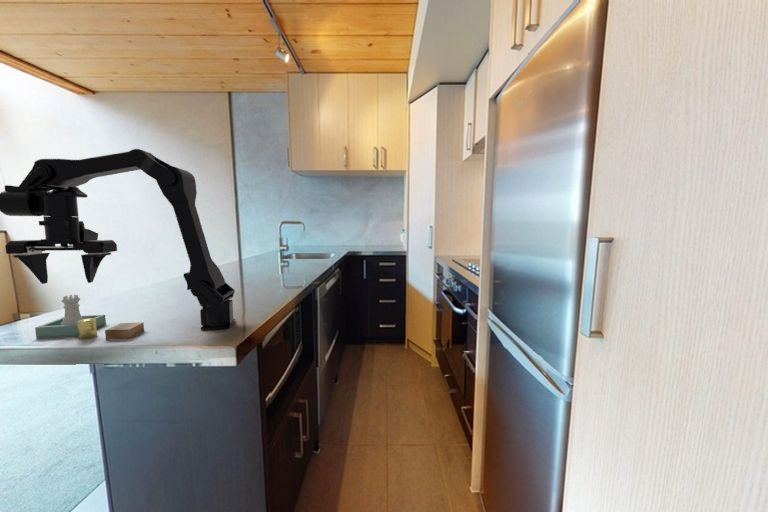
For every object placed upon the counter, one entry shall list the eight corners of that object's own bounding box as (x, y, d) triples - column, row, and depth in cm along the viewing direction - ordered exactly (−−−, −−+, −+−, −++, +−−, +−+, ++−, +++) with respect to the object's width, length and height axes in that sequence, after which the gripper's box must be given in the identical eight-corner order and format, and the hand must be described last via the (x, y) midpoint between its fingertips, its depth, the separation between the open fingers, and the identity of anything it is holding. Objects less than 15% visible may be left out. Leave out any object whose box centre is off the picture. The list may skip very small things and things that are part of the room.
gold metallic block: (100, 334, 73) (98, 317, 73) (91, 339, 70) (89, 321, 70) (85, 335, 73) (83, 318, 72) (75, 340, 70) (73, 322, 69)
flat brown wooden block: (144, 332, 76) (143, 322, 75) (130, 340, 71) (129, 329, 70) (121, 333, 75) (120, 323, 75) (105, 340, 70) (104, 330, 70)
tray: (106, 324, 81) (105, 314, 80) (80, 335, 72) (79, 325, 72) (66, 325, 79) (65, 316, 79) (36, 338, 70) (35, 327, 70)
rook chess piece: (69, 332, 73) (66, 298, 72) (55, 330, 74) (51, 297, 73) (91, 326, 77) (88, 294, 76) (77, 324, 78) (74, 293, 77)
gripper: (128, 217, 82) (132, 276, 84) (43, 216, 79) (49, 277, 80) (98, 217, 71) (104, 284, 73) (-2, 215, 68) (7, 286, 69)
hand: (67, 282), depth 74 cm, fingers open, 9 cm apart
